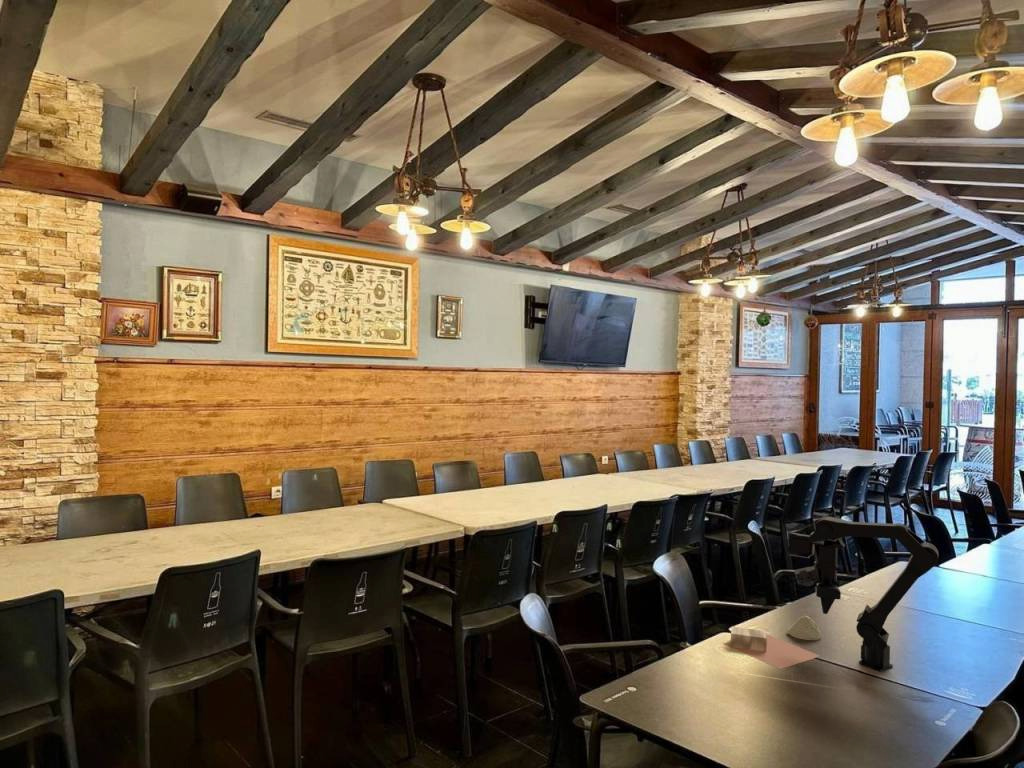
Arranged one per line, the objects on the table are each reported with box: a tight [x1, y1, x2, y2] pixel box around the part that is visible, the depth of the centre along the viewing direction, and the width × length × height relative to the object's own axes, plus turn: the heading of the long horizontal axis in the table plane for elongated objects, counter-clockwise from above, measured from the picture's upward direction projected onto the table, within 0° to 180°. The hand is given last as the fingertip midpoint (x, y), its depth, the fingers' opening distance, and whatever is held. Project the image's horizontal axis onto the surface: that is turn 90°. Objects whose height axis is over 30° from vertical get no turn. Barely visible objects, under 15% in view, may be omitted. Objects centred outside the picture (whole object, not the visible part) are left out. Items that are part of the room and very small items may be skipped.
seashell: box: [786, 615, 822, 641], centre depth 214 cm, size 8×8×8 cm
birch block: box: [730, 626, 768, 652], centre depth 205 cm, size 4×6×10 cm
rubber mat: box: [724, 634, 821, 670], centre depth 202 cm, size 20×18×1 cm
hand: (824, 613), depth 200 cm, fingers closed
